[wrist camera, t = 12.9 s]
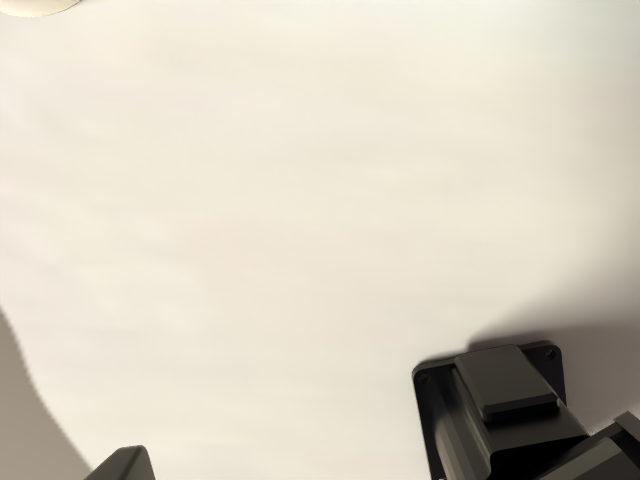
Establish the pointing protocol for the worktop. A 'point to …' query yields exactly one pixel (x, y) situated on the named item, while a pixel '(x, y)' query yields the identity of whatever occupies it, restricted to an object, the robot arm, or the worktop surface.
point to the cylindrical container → (34, 7)
